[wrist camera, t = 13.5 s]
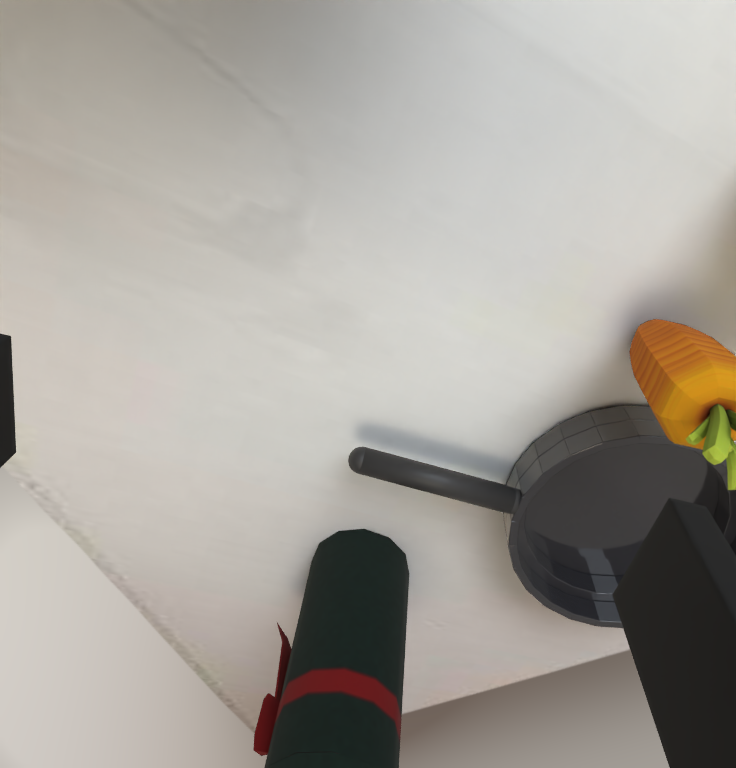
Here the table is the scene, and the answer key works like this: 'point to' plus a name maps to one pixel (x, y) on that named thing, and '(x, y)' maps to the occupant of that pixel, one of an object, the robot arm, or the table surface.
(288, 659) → the wine bottle
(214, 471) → the table surface
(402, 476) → the pan handle
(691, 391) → the carrot
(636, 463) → the pan
